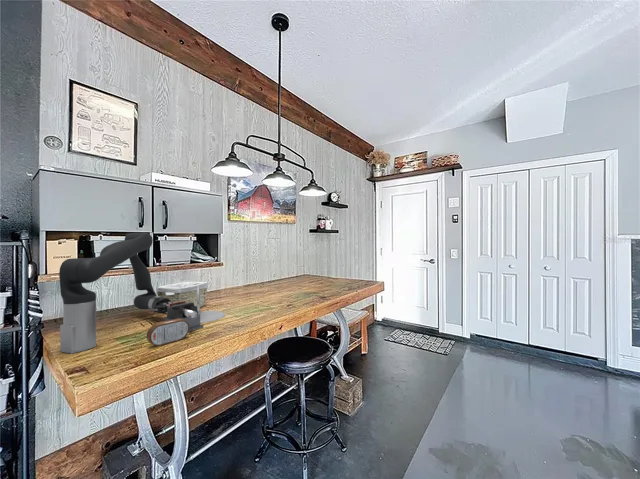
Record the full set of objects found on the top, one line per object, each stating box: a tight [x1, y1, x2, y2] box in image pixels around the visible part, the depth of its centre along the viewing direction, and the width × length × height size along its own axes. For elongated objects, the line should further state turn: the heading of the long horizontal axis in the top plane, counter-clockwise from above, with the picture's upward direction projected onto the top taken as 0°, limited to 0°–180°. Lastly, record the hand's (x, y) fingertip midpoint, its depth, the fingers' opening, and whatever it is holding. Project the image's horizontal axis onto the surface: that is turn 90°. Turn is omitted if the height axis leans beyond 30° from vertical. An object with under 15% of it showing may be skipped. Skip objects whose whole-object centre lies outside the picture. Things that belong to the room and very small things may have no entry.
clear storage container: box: [156, 280, 209, 314], centre depth 160 cm, size 24×16×15 cm
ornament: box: [197, 285, 226, 324], centre depth 145 cm, size 22×13×17 cm, turn 22°
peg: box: [169, 301, 197, 319], centre depth 122 cm, size 15×7×7 cm, turn 52°
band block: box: [163, 302, 204, 332], centre depth 123 cm, size 10×14×11 cm
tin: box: [146, 318, 190, 347], centre depth 108 cm, size 15×3×8 cm, turn 141°
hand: (176, 309), depth 126 cm, fingers closed
